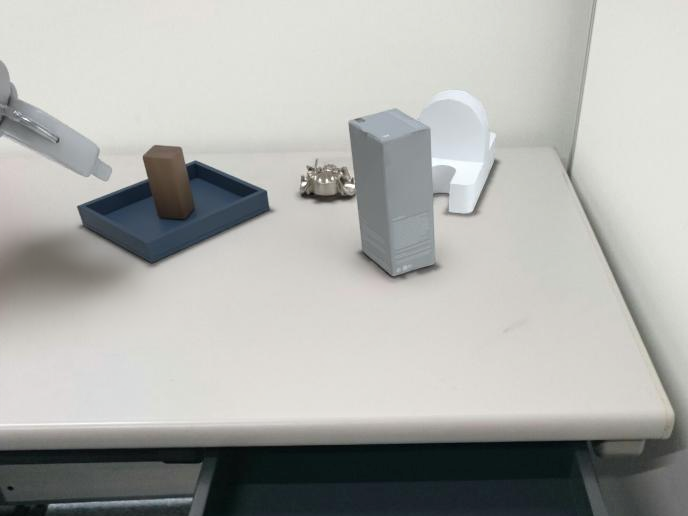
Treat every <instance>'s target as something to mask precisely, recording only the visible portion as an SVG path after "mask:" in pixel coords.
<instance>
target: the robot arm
mask: <svg viewBox="0 0 688 516" xmlns="http://www.w3.org/2000/svg"><path fill="white" fill-rule="evenodd" d="M2 137H4V138H6V139H8V140H10V141H12V142H13V143H16V144H18V145H20V146H22V147H24V148H25V149H28V150H29V151H31V152H34V153H36V154H37V155H39V156H41V157H44V158H45V159H47V160H49V161H51V162H53V163H56V164H57V165H59V166H61V167H63V168H65V169H67V170H69V171H71V172H73V173H75V174H77V175H78V176H81V177H84V178H89V177H90V176H91V175H92V176H94V177H95V178H97V179H99V180H100V181H103V182H106V183H107V182H108V181H109V180H110V178H111V176H112V173H113V168H112V166H111V165H110V164H107V163H105V161H103V160H101V159H100V158H99V156H100V153H101V149H100V147H99V146H98V145H97V143H95V142H94V141H92V140H91V139H90V138H88V137H86V136H85V135H83V134H82V133H80V132H78V131H77V130H75V129H73V128H72V127H70V126H69V125H67V124H66V123H64V122H63V121H61V120H59V119H58V118H56V117H55V116H53V115H51V114H50V113H48V112H47V111H45V110H43V109H41V108H39V107H37V106H35V105H33V104H31V103H29V102H27V101H25V100H21V99H20V98H19V95H18V91H17V87H16V86H15V84H14V83H13V82H11V78H10V72H9V70H8V67H7V65H6V64H5V63H4V62H3V61H2V60H1V59H0V138H2Z"/></svg>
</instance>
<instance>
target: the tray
mask: <svg viewBox="0 0 688 516" xmlns="http://www.w3.org/2000/svg"><path fill="white" fill-rule="evenodd" d="M185 164H186V169H187V173H188V178H189V182H190V187H191V191H192V195H193V200H194V204H195V207H194V209H193V210H192V212H191V213H190V214H189V215H188V216H187V218H186V219H183V220H182V219H170V218H160V217H158V215H157V211H156V207H155V203H154V200H153V196H152V192H151V188H150V184H149V181H148V178H146V179H143V180H141V181H138V182H136V183H132V184H131V185H128V186H125V187H123V188H119V189H118V190H115V191H112V192H109V193H107V194H105V195H102V196H99V197H97V198H93V199H92V200H89V201H87V202H83V203H82V204H79V205H76V208H77V211H78V215H79V217H80V220H81V224H82V226H84V227H86V228H87V229H89V230H91V231H93V232H94V233H96V234H98V235H100V236H102V237H104V238H106V239H107V240H109V241H110V242H113V243H114V244H116V245H119V246H120V247H122V248H124V249H125V250H127V251H129V252H131V253H133V254H135V255H136V256H138V257H140V258H142V259H144V260H146V261H147V262H149V263H151V264H154V263H155V262H158V261H160V260H163V259H164V258H167V257H169V256H171V255H173V254H176V253H177V252H180V251H182V250H184V249H186V248H188V247H190V246H193V245H195V244H197V243H200V242H202V241H204V240H206V239H208V238H211V237H213V236H215V235H217V234H219V233H221V232H224V231H226V230H228V229H230V228H232V227H235V226H237V225H239V224H241V223H244V222H245V221H248V220H250V219H252V218H255V217H256V216H259V215H261V214H264V213H265V212H268V211H270V209H271V208H270V202H269V196H268V195H269V194H268V190H266V189H264V188H262V187H259V186H258V185H254V184H252V183H250V182H248V181H246V180H243V179H242V178H238V177H237V176H235V175H231V174H229V173H227V172H224V171H222V170H220V169H218V168H215V167H212V166H210V165H208V164H206V163H204V162H201V161H198V160H196V159H195V160H193V161H190V162H188V163H185Z"/></svg>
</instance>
